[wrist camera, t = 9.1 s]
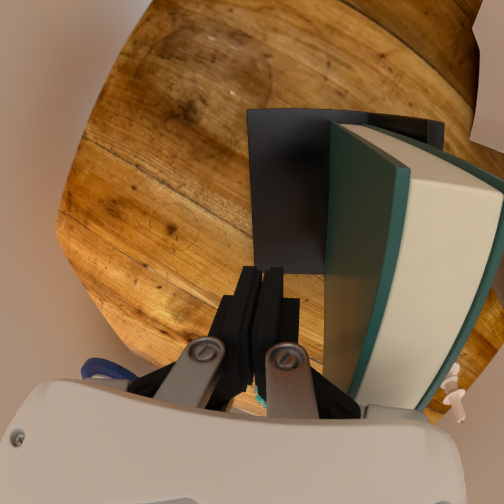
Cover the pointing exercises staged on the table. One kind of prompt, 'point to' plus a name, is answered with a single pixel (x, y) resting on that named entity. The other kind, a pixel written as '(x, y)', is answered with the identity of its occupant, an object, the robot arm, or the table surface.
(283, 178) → the book stand
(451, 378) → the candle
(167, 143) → the table surface
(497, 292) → the coffee cup
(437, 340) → the book
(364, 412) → the robot arm
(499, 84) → the folded paper
